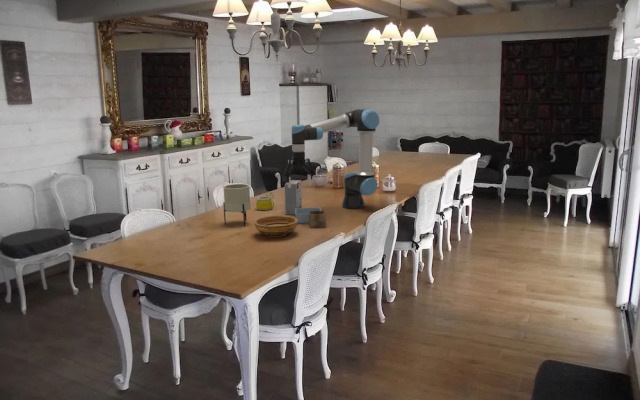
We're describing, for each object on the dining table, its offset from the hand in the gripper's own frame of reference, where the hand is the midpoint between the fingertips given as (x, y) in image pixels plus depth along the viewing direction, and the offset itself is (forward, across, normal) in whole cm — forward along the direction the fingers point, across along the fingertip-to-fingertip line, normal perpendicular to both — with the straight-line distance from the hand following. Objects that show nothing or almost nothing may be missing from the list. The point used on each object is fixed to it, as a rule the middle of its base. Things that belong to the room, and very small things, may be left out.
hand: (299, 186), depth 322 cm
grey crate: (+21, -5, +2) cm, 22 cm away
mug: (+22, +5, -41) cm, 47 cm away
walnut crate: (+21, -3, +16) cm, 27 cm away
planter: (+22, +34, -16) cm, 43 cm away
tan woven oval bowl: (+22, +25, +20) cm, 38 cm away
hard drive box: (+21, -7, -23) cm, 32 cm away
